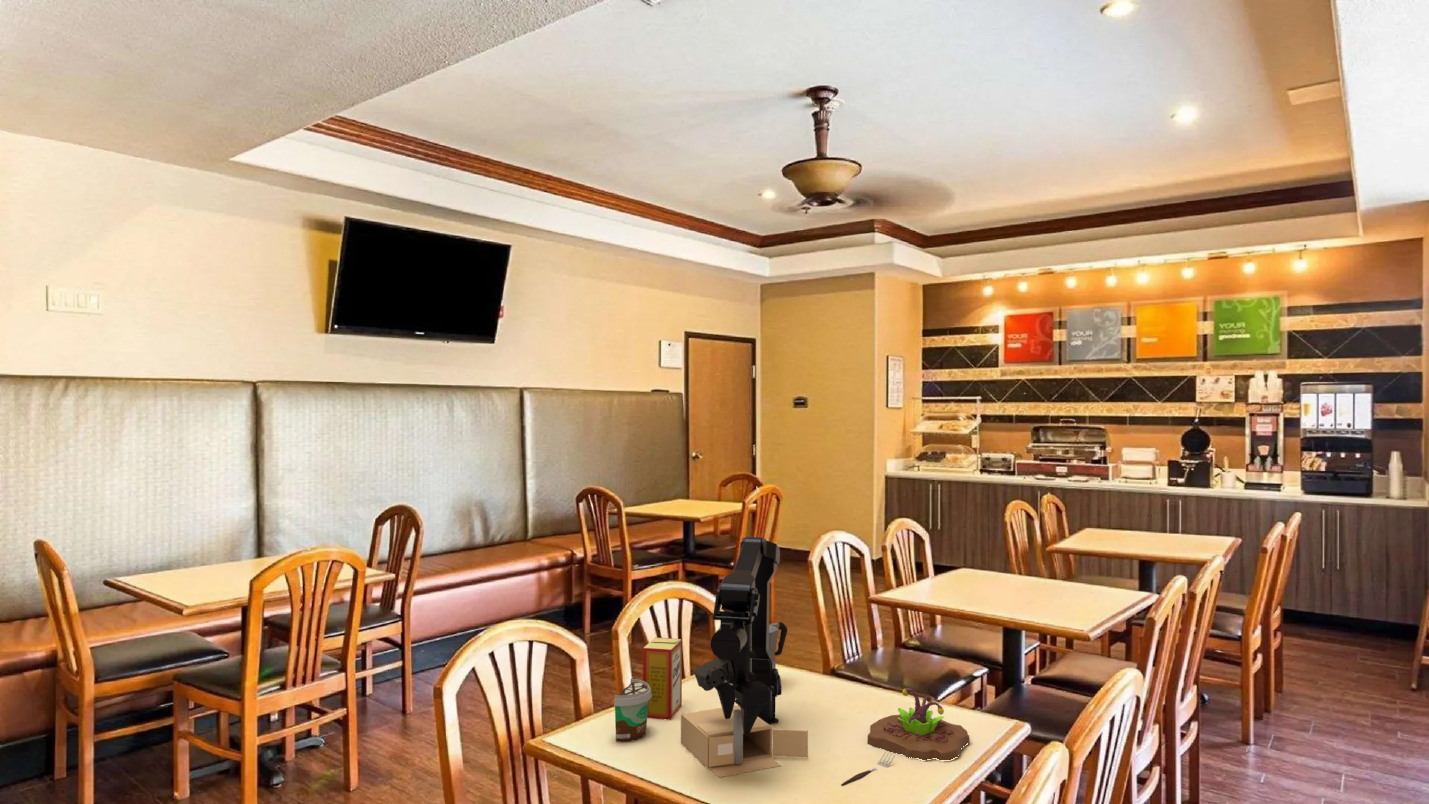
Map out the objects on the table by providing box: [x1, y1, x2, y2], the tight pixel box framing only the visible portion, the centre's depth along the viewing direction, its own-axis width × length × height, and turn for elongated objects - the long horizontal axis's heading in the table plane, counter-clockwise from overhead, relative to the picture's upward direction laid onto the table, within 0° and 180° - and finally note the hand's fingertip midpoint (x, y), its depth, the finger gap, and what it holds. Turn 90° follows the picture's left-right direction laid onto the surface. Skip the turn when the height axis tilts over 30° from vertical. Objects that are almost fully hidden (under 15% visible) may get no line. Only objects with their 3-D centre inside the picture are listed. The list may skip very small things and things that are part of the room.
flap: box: [709, 709, 743, 767], centre depth 163 cm, size 7×2×10 cm, turn 108°
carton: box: [680, 704, 809, 778], centre depth 171 cm, size 20×19×6 cm
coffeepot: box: [769, 621, 788, 687], centre depth 211 cm, size 15×9×18 cm, turn 125°
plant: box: [867, 687, 970, 760], centre depth 177 cm, size 20×20×11 cm
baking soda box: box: [642, 636, 683, 721], centre depth 194 cm, size 10×6×16 cm
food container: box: [613, 678, 652, 743], centre depth 180 cm, size 12×6×10 cm, turn 168°
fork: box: [840, 751, 896, 787], centre depth 161 cm, size 3×16×2 cm, turn 135°
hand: (736, 725), depth 165 cm, fingers open, 8 cm apart
